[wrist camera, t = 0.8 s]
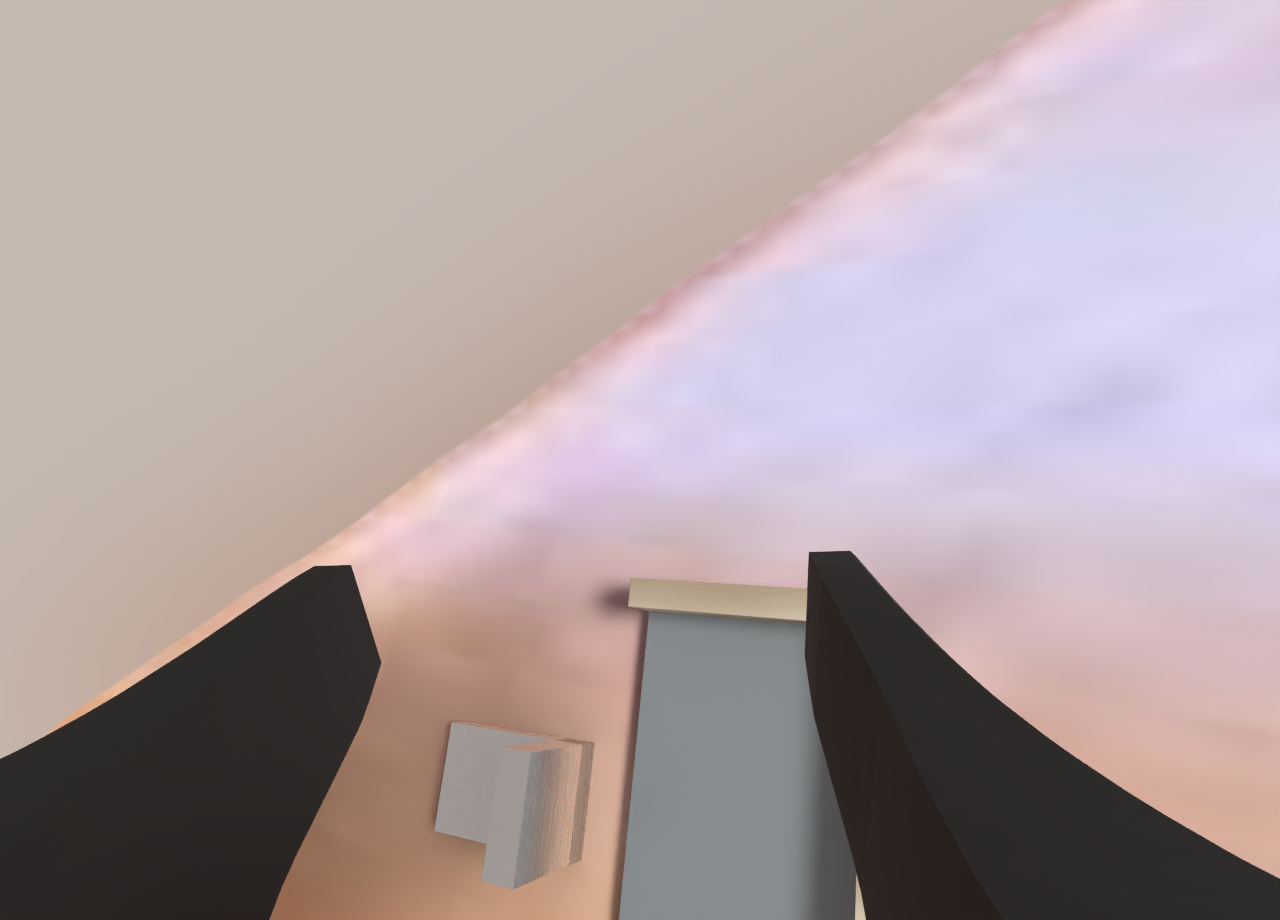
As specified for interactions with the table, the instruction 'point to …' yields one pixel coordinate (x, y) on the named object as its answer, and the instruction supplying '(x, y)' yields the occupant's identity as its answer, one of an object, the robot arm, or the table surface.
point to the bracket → (516, 799)
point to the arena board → (731, 781)
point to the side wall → (720, 600)
